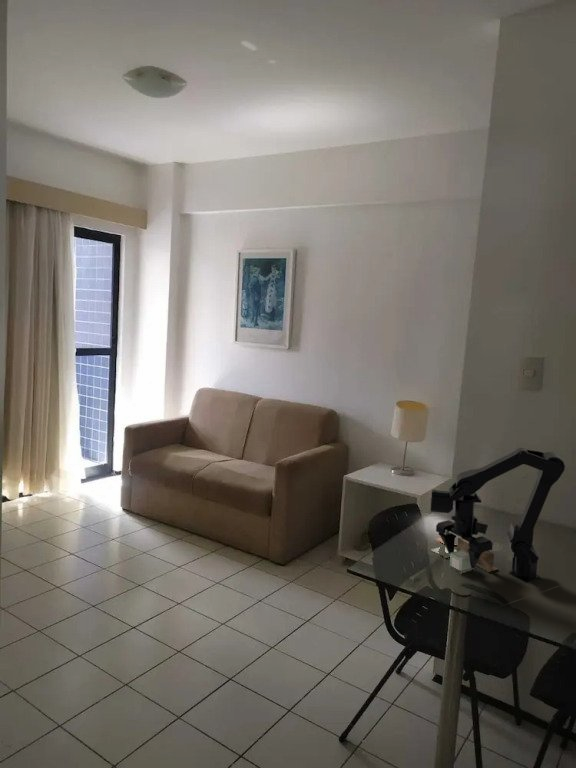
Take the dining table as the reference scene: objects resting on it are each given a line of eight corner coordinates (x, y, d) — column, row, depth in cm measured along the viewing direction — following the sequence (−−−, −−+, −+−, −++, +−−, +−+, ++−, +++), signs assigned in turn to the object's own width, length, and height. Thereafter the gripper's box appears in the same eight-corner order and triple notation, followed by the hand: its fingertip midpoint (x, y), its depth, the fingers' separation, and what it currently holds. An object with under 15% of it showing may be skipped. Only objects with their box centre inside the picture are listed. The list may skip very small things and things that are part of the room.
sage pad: (462, 554, 190) (462, 553, 190) (445, 559, 187) (445, 557, 187) (447, 546, 196) (447, 545, 196) (431, 550, 193) (431, 549, 193)
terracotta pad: (464, 543, 198) (464, 542, 198) (449, 547, 195) (449, 546, 195) (450, 535, 204) (450, 534, 204) (435, 539, 201) (435, 538, 201)
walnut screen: (498, 570, 179) (499, 552, 178) (488, 573, 177) (489, 554, 176) (465, 552, 191) (466, 535, 190) (456, 555, 189) (457, 537, 188)
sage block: (473, 570, 179) (474, 555, 178) (460, 574, 176) (461, 558, 176) (461, 564, 183) (462, 549, 182) (449, 567, 181) (450, 552, 180)
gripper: (507, 519, 172) (504, 568, 175) (461, 500, 189) (459, 545, 191) (479, 526, 167) (477, 576, 170) (435, 506, 184) (433, 552, 186)
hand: (462, 561), depth 179 cm, fingers open, 9 cm apart
